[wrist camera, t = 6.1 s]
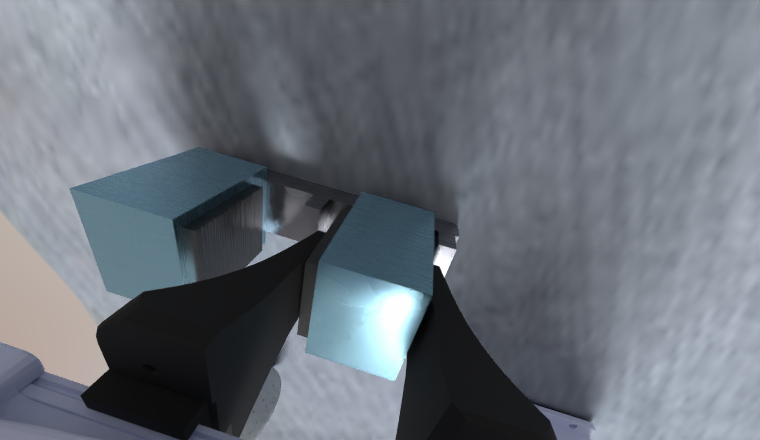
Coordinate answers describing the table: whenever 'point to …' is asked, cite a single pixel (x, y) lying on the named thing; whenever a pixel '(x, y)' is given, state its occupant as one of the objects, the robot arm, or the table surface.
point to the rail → (204, 219)
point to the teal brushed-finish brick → (369, 285)
